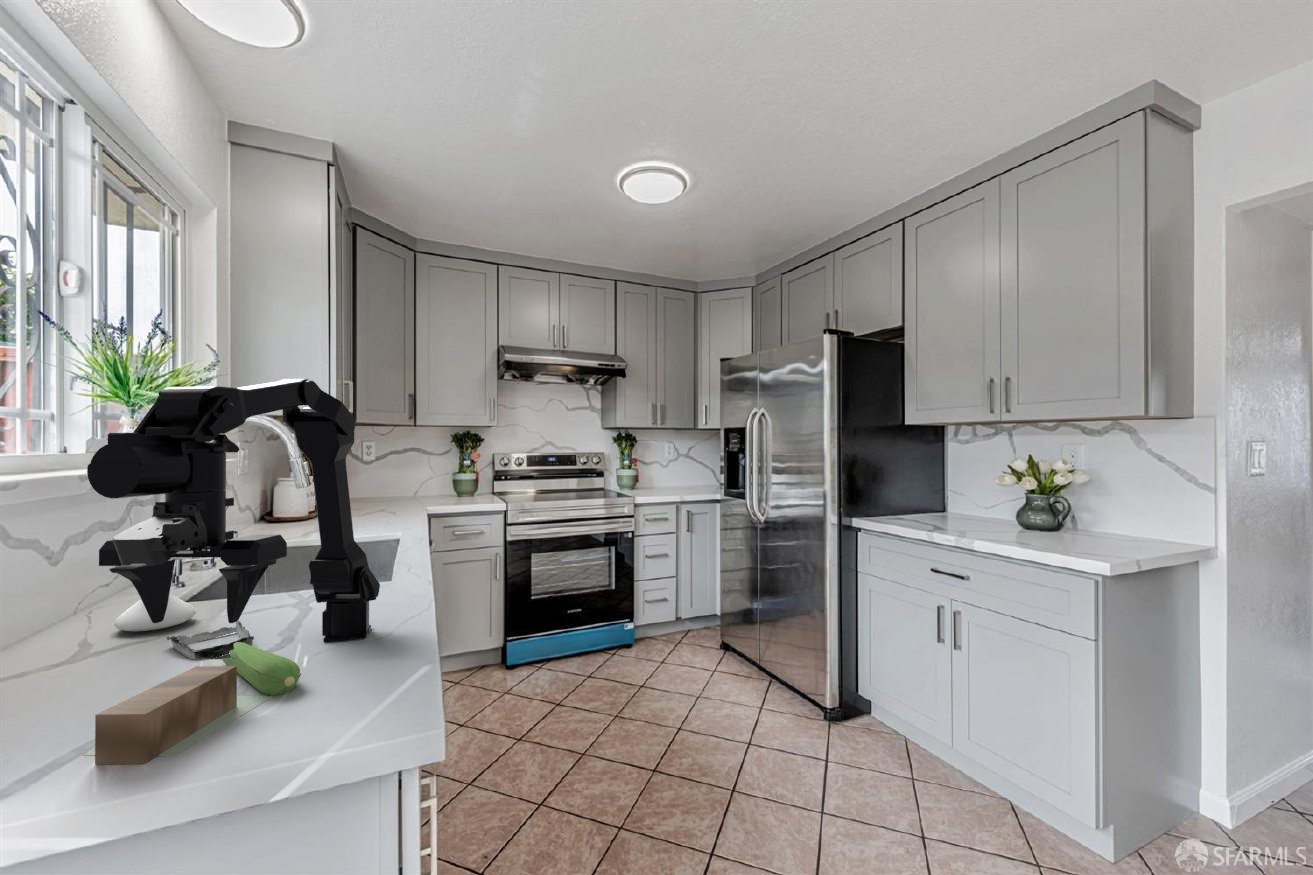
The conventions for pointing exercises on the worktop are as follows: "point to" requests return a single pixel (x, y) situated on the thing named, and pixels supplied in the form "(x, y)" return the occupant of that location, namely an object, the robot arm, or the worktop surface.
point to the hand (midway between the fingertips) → (195, 622)
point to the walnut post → (164, 715)
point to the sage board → (213, 725)
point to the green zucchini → (264, 669)
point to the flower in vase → (140, 620)
